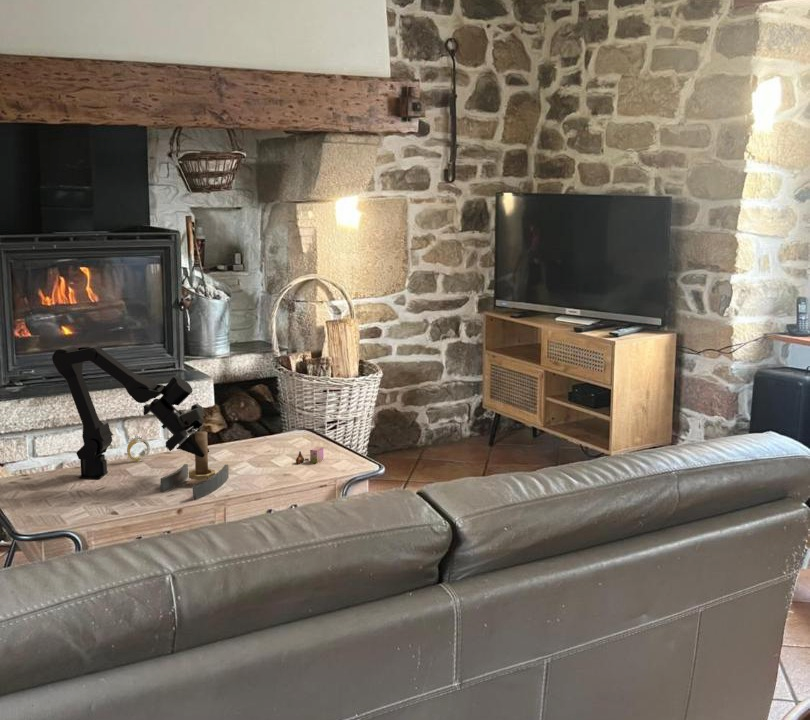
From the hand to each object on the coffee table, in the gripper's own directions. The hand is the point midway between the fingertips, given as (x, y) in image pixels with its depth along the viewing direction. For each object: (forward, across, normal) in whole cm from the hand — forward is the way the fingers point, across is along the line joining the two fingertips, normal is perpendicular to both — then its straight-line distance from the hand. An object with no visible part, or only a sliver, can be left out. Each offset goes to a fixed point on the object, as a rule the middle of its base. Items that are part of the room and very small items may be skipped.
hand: (206, 454), depth 282 cm
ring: (-13, +16, +26) cm, 33 cm away
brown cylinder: (+4, 0, +6) cm, 7 cm away
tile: (+5, +2, +7) cm, 9 cm away
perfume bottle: (+25, +24, -12) cm, 37 cm away
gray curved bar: (+4, -5, +8) cm, 10 cm away
